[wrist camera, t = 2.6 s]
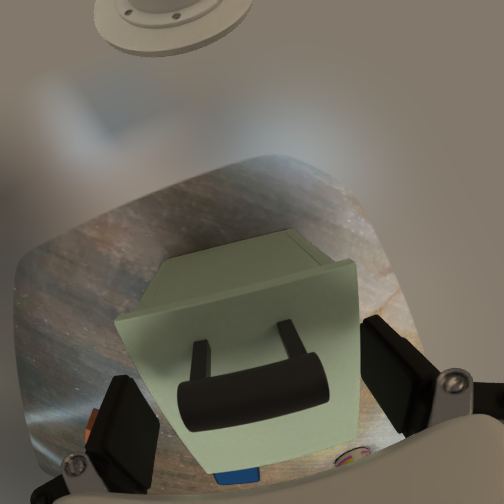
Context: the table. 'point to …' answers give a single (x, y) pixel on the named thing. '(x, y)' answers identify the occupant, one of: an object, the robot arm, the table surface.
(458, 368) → the robot arm
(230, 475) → the smartphone
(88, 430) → the block
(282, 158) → the table surface
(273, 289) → the box lid
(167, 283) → the green box
